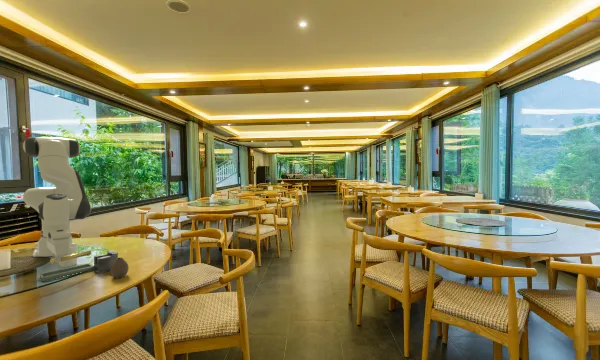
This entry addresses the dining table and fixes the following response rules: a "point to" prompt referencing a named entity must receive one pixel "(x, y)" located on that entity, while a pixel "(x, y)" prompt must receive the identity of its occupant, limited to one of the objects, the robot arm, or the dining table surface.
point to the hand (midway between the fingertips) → (57, 261)
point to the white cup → (72, 250)
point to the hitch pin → (72, 256)
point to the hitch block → (105, 261)
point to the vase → (119, 268)
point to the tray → (65, 272)
